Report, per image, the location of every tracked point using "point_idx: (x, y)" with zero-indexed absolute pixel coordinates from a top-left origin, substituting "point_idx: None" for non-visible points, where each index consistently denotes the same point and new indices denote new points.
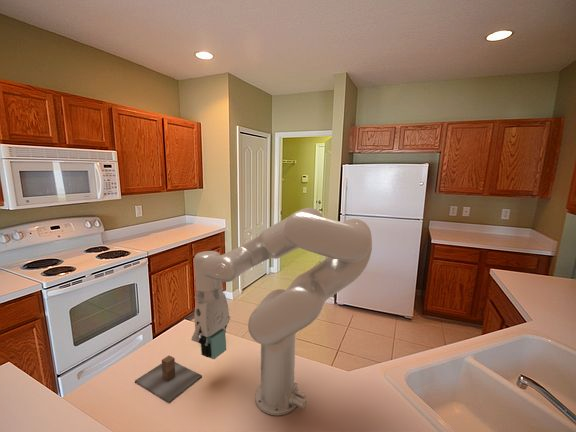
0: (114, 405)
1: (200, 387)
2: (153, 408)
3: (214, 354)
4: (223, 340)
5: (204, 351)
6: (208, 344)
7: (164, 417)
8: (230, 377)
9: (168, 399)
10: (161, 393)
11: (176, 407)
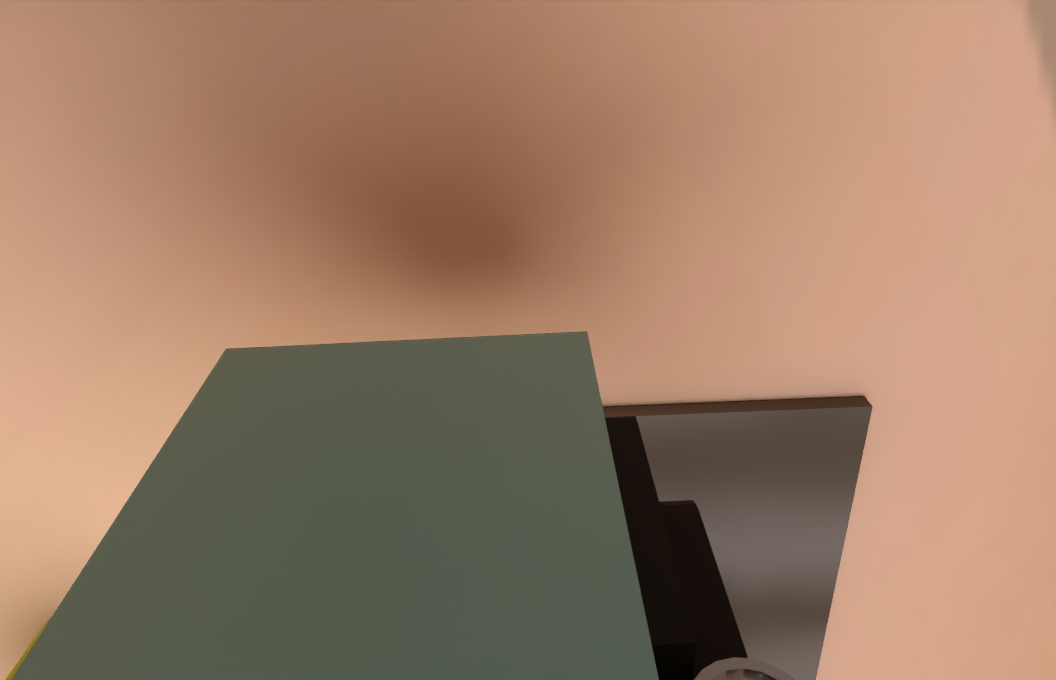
0: (1011, 655)
1: (590, 325)
2: (948, 449)
3: (576, 387)
4: (202, 527)
5: (709, 580)
6: (670, 673)
7: (997, 309)
8: (302, 173)
9: (855, 427)
10: (825, 517)
11: (874, 314)
